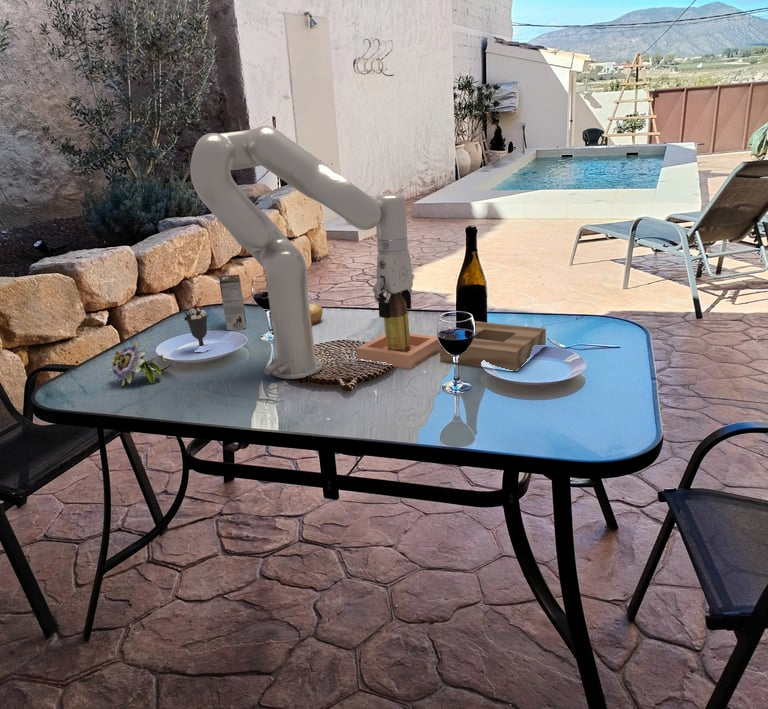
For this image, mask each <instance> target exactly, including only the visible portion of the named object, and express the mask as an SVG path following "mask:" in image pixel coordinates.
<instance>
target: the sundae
mask: <svg viewBox="0 0 768 709" xmlns="http://www.w3.org/2000/svg"><path fill="white" fill-rule="evenodd" d="M201 300H202V297H201V298H200V297H199V298H198V300H197V302H196V303H195V304H193V306H192V307H190V308H189V309H188V313H187V312H186V311H184V314H185V316H184V321H185V322H186V321H187V323H188V326H189V330H190V332H191V335H192V336H193V337H194V338H195V339H196V340H198V347H199V346H203V345H204V346H205V344H204V340H203V339H204V338H205V337H206V336H207V332H208V327H207V325H208V324H207V322H208V321H207V320H208V319H207V318H209V314H207V312H206V311H205V310H204V309H203V306H202V305H201V302H200V301H201ZM198 303H199V305H198Z"/></svg>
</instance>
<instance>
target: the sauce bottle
mask: <svg viewBox="0 0 768 709" xmlns="http://www.w3.org/2000/svg"><path fill="white" fill-rule="evenodd" d="M401 293H402V292H399V293H396V294H392V293H391V296H390V298H389V301H388V302H390V308H391V317H390V318H383V322H384V332H385V333H384V334H386V344H387V348H388V350H393V351H400V352H408V351H410V344H411V343H410V325H409V312H408V309H407V304H406V301H405V299H404V298H403V297H402V295H401Z"/></svg>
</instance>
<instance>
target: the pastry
mask: <svg viewBox="0 0 768 709" xmlns="http://www.w3.org/2000/svg"><path fill="white" fill-rule="evenodd" d="M308 298H310V299H312V300H313V298H312V296H310V295H309V294H308ZM309 308H310V316H311V325H312V326H314V325H317V324H319V323H320V321H321V320H322V318H323V308H322V306H321V305H319V304H317V303H313V302H312V303H309Z"/></svg>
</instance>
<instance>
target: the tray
mask: <svg viewBox="0 0 768 709" xmlns="http://www.w3.org/2000/svg"><path fill="white" fill-rule="evenodd" d="M409 333H410V332H409ZM437 337H438V336H433V335H425V334H417V333H410V343H411V344H410V351H408V352H400V351H393V350H388V348H387V344H386V334H385V333H383V334H381V335H379V336H378V337H376V338H373V339H371V340H369V341H367V342H366V343H363V344H362V345H359V346H357V347H356V348H355V349H356V360H357V359H364V360H372V361H379V362H386V363H390V364H392V365H393V367H392V368H398V369H404V370H405V369H406V370H411V369H413V368H415V367H416V366H418V365H420V364H421V363H423V362H425V361H427V360H428V359H429V358H431V357H433V356H434V355H436V354H437V353H440V343H439V341H438V338H437Z"/></svg>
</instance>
